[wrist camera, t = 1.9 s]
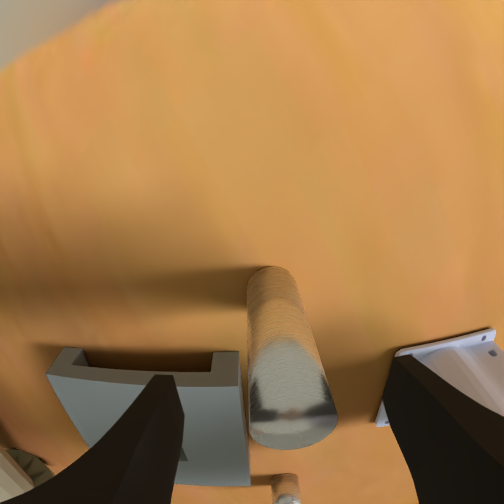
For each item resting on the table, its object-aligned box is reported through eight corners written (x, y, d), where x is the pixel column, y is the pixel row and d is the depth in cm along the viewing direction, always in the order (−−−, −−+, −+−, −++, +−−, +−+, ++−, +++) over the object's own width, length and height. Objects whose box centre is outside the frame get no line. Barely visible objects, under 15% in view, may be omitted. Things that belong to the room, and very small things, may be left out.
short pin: (298, 472, 23) (304, 511, 19) (297, 483, 24) (302, 520, 20) (270, 474, 23) (273, 514, 19) (270, 485, 24) (273, 522, 20)
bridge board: (238, 351, 18) (238, 386, 15) (249, 457, 22) (250, 485, 19) (64, 346, 18) (45, 373, 15) (116, 449, 22) (108, 474, 19)
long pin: (296, 264, 16) (343, 392, 8) (295, 308, 17) (332, 444, 8) (245, 267, 16) (246, 401, 8) (248, 311, 17) (251, 452, 8)
